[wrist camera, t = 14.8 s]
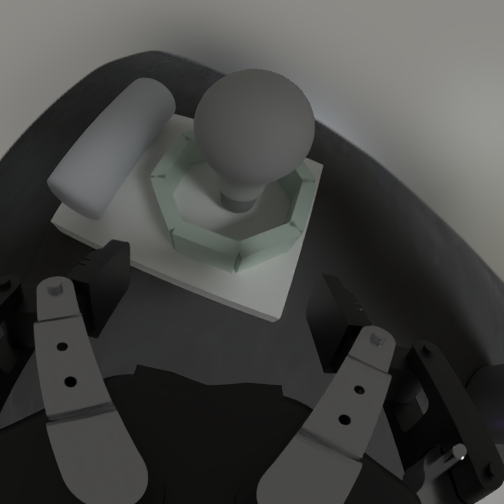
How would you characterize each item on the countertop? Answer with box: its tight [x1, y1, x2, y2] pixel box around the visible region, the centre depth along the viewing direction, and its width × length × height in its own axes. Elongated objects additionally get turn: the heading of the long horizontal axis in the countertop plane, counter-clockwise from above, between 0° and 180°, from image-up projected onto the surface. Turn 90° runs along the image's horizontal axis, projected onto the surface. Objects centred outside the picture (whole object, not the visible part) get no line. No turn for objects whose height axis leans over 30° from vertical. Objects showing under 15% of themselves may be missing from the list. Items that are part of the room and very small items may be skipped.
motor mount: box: [47, 78, 323, 322], centre depth 19 cm, size 19×14×7 cm
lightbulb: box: [194, 69, 315, 213], centre depth 15 cm, size 6×6×11 cm
